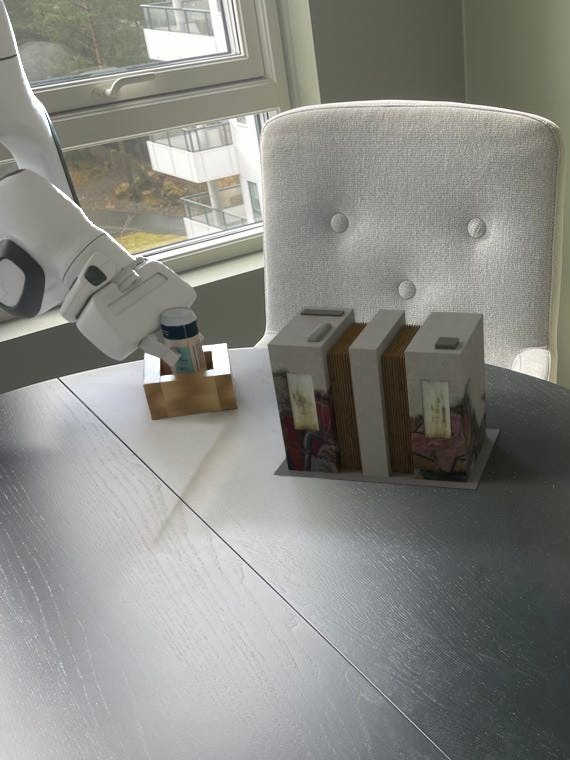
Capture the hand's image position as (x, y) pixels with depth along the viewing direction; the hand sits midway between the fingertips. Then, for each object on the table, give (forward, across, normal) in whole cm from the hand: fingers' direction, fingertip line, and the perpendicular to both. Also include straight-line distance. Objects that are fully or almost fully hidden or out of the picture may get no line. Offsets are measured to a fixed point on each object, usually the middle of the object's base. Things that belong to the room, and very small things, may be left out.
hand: (189, 352), depth 131 cm
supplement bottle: (+4, 0, -5) cm, 7 cm away
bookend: (+27, +11, +17) cm, 34 cm away
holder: (+4, 0, -5) cm, 7 cm away
